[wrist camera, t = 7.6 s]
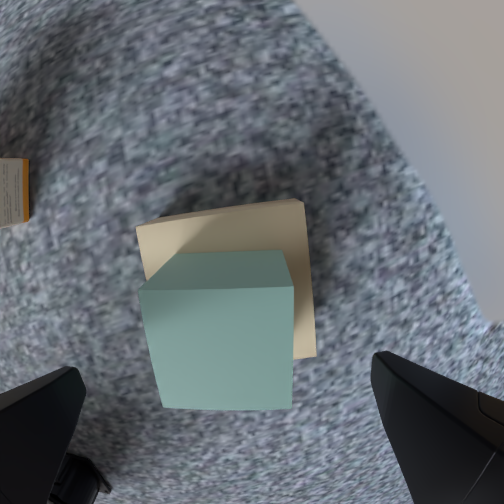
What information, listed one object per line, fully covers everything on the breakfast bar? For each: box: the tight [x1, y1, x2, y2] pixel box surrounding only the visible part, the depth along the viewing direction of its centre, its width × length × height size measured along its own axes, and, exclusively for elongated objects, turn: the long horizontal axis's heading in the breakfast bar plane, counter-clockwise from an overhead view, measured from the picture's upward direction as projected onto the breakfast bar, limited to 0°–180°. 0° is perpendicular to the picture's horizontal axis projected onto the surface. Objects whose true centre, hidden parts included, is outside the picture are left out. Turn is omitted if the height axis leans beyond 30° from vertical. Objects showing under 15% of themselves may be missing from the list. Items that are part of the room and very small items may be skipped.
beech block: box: [136, 198, 316, 360], centre depth 17 cm, size 8×8×4 cm
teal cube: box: [138, 250, 294, 410], centre depth 13 cm, size 5×5×5 cm
